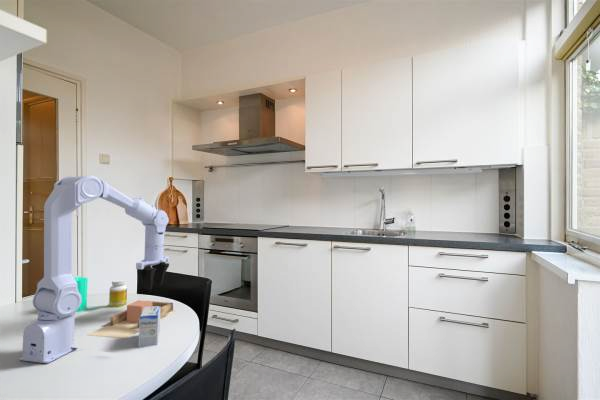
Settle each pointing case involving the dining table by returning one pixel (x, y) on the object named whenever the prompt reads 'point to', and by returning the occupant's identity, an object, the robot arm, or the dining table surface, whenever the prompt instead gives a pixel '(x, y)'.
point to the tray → (128, 323)
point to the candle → (82, 292)
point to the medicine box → (149, 326)
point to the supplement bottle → (118, 293)
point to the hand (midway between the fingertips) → (153, 287)
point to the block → (136, 310)
